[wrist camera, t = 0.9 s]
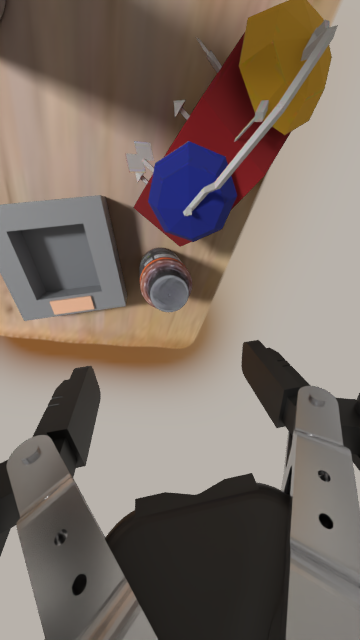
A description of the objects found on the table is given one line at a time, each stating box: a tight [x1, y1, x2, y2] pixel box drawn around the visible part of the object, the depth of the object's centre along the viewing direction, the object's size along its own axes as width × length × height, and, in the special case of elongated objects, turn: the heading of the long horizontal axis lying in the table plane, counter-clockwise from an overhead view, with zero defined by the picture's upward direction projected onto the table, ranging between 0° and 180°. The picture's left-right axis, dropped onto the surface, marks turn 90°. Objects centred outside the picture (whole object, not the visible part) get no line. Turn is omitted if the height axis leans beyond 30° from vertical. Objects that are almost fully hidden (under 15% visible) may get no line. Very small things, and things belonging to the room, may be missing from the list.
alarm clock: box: [125, 0, 337, 246], centre depth 17 cm, size 15×9×20 cm, turn 141°
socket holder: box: [0, 195, 127, 321], centre depth 27 cm, size 13×13×4 cm
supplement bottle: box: [140, 248, 192, 312], centre depth 26 cm, size 6×6×11 cm
